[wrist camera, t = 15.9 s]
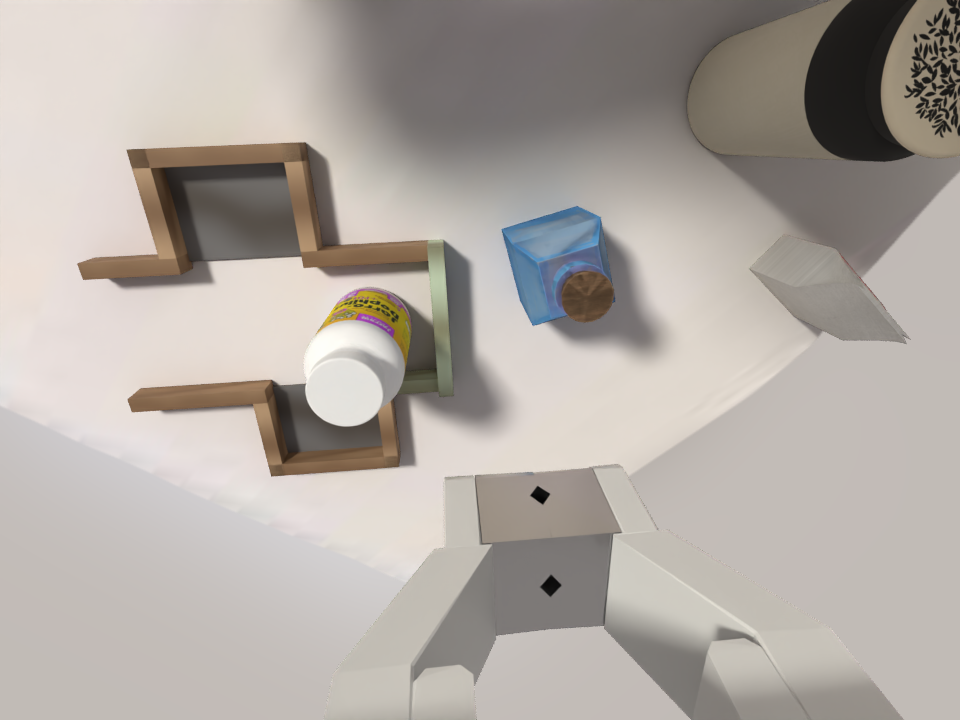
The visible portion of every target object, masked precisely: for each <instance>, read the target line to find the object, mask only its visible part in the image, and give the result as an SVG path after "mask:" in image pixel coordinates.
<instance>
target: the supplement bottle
mask: <svg viewBox="0 0 960 720" xmlns="http://www.w3.org/2000/svg"><path fill="white" fill-rule="evenodd" d="M411 334H412V322H411V318H410V314H409V312H408V310H407V308H406V307H405V305H404V304H403V302H402V301H401V300H400V299H399V298H398V297H396V296H395V295H394V294H392V293H390V292H388V291H386V290H383V289H380V288H374V287H365V288H359V289H356V290H353V291H351V292H349V293H348V294H346V295H345V296H343V297H342V298H341V299H340V300H339V302H338V303H337V304H336V305H335V307H334V308H333V310H332V311H331V313H330V314H329V316H328V317H327V319H326V320H325V322H324V323H323V325H322V326H321V327H320V329H319V330H318V332H317V333H316V335H315V336H314V338H313V339H312V341H311V342H310V344H309V345H308V348H307V350H306V353H305V356H304V375H305V379H306V386H305V392H306V398H307V401H308V404H309V405H310V407H311V409H312V410H313V411H314V412H315V413H316V414H317V415H318V416H319V417H320V418H322V419H323V420H325V421H326V422H329V423H331V424H334V425H338V426H357V425H360V424H363V423H365V422H367V421H369V420H370V419H372V418H373V417H374V416H375V415H376V414H377V413H378V411H379V410H380V408H382V407H383V406H385V405H386V404H388V403H389V402H390V401H391V400H392V399H393V398H394V397H395V396H396V394H397V393H398V391H399V389H400V387H401V385H402V382H403V378H404V374H405V368H406V362H407V357H408V351H409V346H410V340H411Z"/></svg>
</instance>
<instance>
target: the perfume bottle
mask: <svg viewBox="0 0 960 720" xmlns="http://www.w3.org/2000/svg"><path fill="white" fill-rule="evenodd" d="M502 233H503V236H504V240H505V244H506V248H507V252H508V256H509V259H510V263H511V267H512V271H513V275H514V279H515V282H516V286H517V290H518V294H519V298H520V301H521V303H522V305H523V307H524V309H525V311H526V313H527V315H528V317H529V319H530V321H531V323H532V325H533V326H534V325H538V324H541V323H545V322H548V321H551V320H555V319H558V318H562V317H565V316H569V317H570V318H572V319H573V320H575V321H578V322H584V323H585V322H593V321H595V320H597V319H599V318H601V317H602V316H603V315H604V314H606V313H607V311H608V310H609V308H610V307H611V305H612V303H613V302H615V296H614V289H613V285H612V279H611V274H610V268H609V263H608V257H607V251H606V246H605V240H604V234H603V229H602V223H601V217H599V216H597V215H595V214H593V213H591V212H589V211H587V210H584V209H582V208H580V207H578V206H576V207H573V208H570V209H566V210H563V211H560V212H556V213H553V214H550V215H546V216H543V217H540V218H537V219H533V220H530V221H527V222H523V223H520V224H517V225H513V226H510V227H507V228H504V229H502Z"/></svg>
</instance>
